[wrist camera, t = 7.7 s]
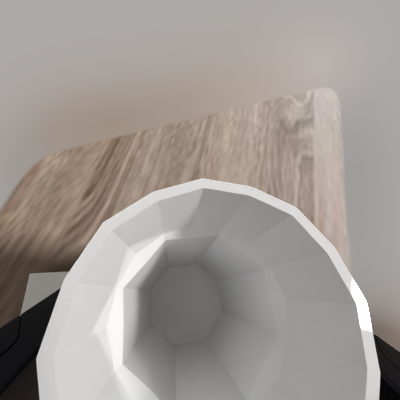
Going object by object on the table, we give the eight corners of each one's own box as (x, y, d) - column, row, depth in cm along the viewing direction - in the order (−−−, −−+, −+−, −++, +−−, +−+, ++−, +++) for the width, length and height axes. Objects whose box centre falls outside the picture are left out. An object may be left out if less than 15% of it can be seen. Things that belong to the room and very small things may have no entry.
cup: (221, 373, 13) (402, 665, 3) (117, 343, 13) (-68, 534, 3) (240, 265, 16) (369, 222, 6) (155, 240, 16) (130, 149, 6)
